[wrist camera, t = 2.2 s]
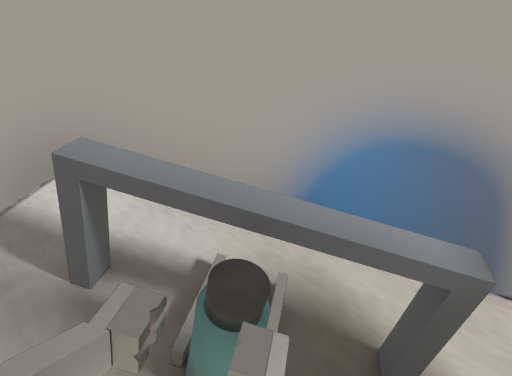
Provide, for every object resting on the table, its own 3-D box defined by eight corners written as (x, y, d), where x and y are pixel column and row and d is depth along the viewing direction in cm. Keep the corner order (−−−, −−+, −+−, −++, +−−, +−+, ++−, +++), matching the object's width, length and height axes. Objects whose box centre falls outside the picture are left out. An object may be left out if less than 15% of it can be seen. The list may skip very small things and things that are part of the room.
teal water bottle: (252, 359, 35) (283, 266, 28) (237, 421, 30) (270, 326, 23) (198, 341, 35) (214, 245, 28) (174, 399, 30) (187, 300, 23)
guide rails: (283, 288, 44) (288, 275, 43) (262, 394, 32) (268, 381, 31) (215, 266, 45) (217, 253, 44) (170, 363, 33) (171, 348, 32)
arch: (399, 358, 39) (478, 251, 30) (404, 392, 35) (496, 283, 26) (92, 259, 42) (81, 137, 33) (70, 282, 39) (51, 152, 30)
